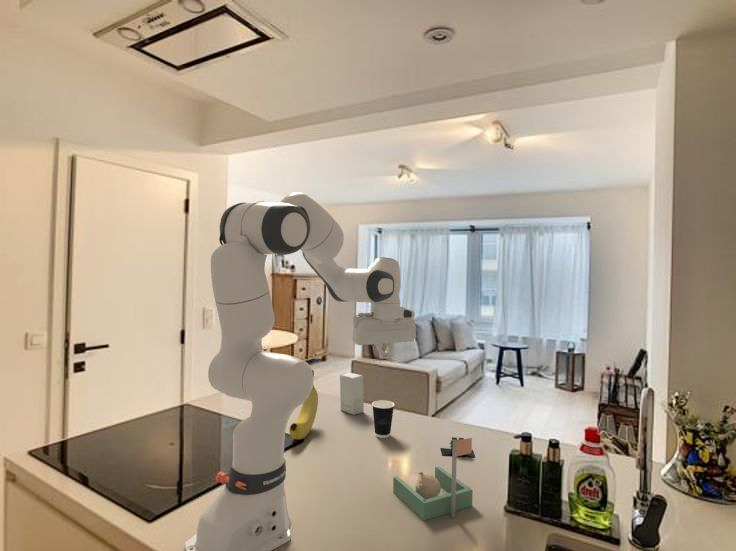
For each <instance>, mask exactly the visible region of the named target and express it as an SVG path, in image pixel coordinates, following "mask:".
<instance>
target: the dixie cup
mask: <svg viewBox="0 0 736 551" xmlns="http://www.w3.org/2000/svg"><path fill="white" fill-rule="evenodd" d="M371 406H372V415H373V416H372V417H373V424H374V426H373V428H374V433H375V437H377V438H380V439H386V438H389V437H390V434H391V431H392V425H393V424H392V422H393V415H394V408H395V403H394V402H393V401H390V400H375V401H373V402H372V403H371Z"/></svg>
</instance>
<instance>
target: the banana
mask: <svg viewBox="0 0 736 551" xmlns="http://www.w3.org/2000/svg"><path fill="white" fill-rule="evenodd" d="M312 373H313V379H314V378H315V376H314V375H315V371H314V370H313V369H312ZM318 404H319V396H318V391H317V389H316V387H315V385H314V384H313V388H312V391H311V393H310V395H309V397H308V398H307V399H306V400H305V401H304V402H303V403H302V404H301V408H300V411H299V415H298V417H297V419H296V420H295V421H293V423H291V425H290V426H289V429H288V432H289V435H290V437H291V438H292V439H294V440H302V439H303V440H304V439H305V438H306V437H307V436H308V434H310V431H311V429H312V428H313V425H314V423H315V419H316V415H317V412H318Z"/></svg>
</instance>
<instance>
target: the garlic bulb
mask: <svg viewBox="0 0 736 551" xmlns="http://www.w3.org/2000/svg"><path fill="white" fill-rule="evenodd" d="M417 474H418V477H417V480H416V484H415V491H416V492H417V493H418V494H419V495H420V496H422V497H423V498H424V499H425V500H426V499H430V498H433V497H437V496H440V493H441V490H442V487H441V485H440V483H439V481H438V480H437V479H436V478H435V475H433V474H431V473H426V472H423V471H420V472H419V473H417Z"/></svg>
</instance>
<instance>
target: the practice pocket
mask: <svg viewBox="0 0 736 551" xmlns="http://www.w3.org/2000/svg"><path fill="white" fill-rule="evenodd" d="M457 440H458V441H457ZM457 440H453V446H452V457H451V473H449V472H448V471H447V470H445V469H443V467H440V465H439V466H438V465H437V466H435V467H434V477H435V478H436V479H437V480H438V481H439V483H440V485H441V488H442V489H444V490H445V491H447V492H448V493H444V494H441V495H438V496H437V497H433V498H430V499H426V500H425V499H424V498H423V497H422V496H420V495H419V494H418V493H417V492H416V489H415V490H414V488H412V487H411V486H410V485H409V484H407V483H406V482H405V481H404V479H401V478H400V477H399V476H398V475H395V476H393V480H392V481H393V482H392V484H393V487H392V488H393V489H392V492H393V493H394V495H396V496H397V497H398V498H399V500H401V501H402V502H403V503H404V504H405V505H406V506H407V507H408V508H409V509H411V510H412V511H413V513H415V514H416V515H417V516H418V517H419V518H420V519H421V520H422V521H427V520H430V519H433V518H437V517H440V516H442V515H448V514H450V518H452V519H454V518H455V517H456V512H457V511H460V510H463V509H466V508H467V509H468V508H469V507H473V491H474V490H473V489H472V488H471V487H469V486H468V485H467V484H465V483H464V482H462V481H461V480H460V479H458V478H457V458H458V457H457V456H461V455H465V454H470V453H471V450H473V449H472V441H473V438H472V437H467V438H464V439H462V440H459V439H457Z"/></svg>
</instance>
